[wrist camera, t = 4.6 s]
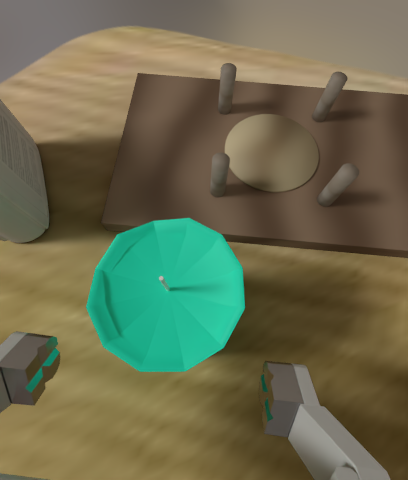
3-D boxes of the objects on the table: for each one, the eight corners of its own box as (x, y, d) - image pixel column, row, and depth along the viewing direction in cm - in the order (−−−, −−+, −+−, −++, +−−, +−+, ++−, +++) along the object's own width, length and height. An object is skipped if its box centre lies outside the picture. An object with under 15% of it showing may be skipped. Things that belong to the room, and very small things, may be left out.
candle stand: (397, 107, 27) (442, 53, 22) (428, 259, 22) (499, 234, 17) (141, 86, 28) (127, 29, 23) (107, 230, 22) (79, 196, 17)
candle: (232, 285, 21) (268, 219, 10) (212, 369, 19) (229, 409, 8) (157, 265, 21) (109, 179, 10) (130, 344, 19) (32, 347, 8)
